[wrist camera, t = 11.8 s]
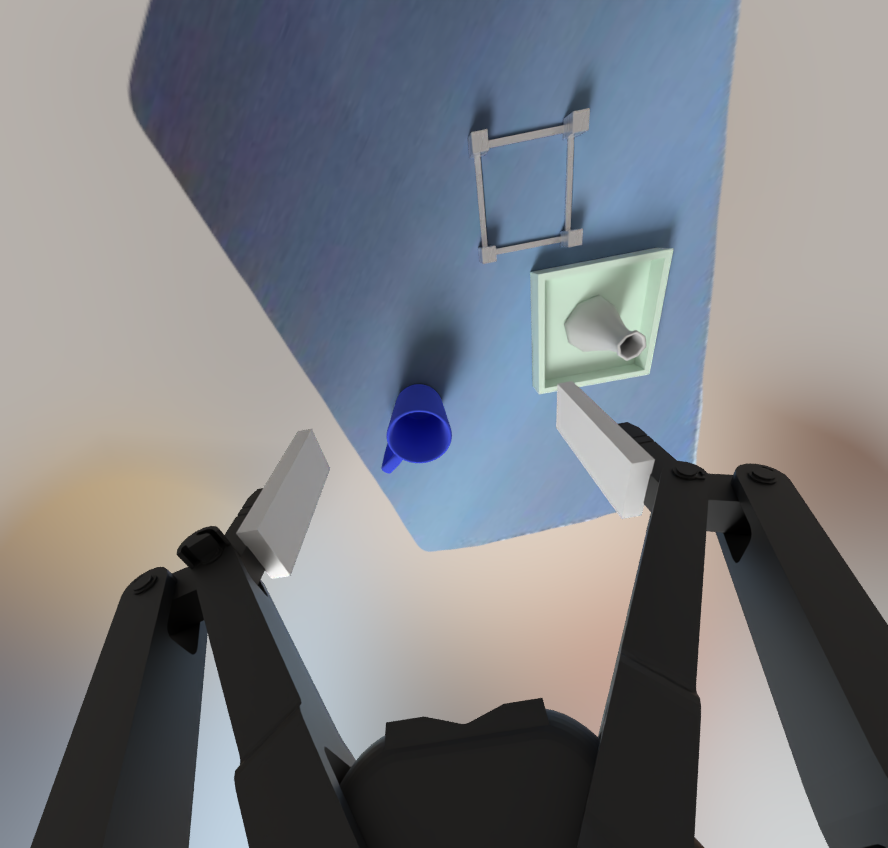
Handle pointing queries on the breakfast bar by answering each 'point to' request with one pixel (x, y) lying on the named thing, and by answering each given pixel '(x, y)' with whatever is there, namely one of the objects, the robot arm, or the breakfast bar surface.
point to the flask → (602, 329)
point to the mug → (416, 428)
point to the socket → (570, 129)
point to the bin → (562, 288)
